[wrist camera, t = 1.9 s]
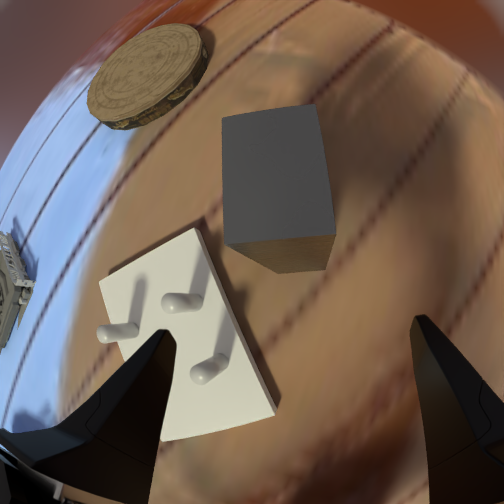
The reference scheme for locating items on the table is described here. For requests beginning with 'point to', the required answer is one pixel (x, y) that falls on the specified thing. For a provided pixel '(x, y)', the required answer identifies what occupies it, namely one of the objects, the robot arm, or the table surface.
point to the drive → (277, 189)
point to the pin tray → (187, 337)
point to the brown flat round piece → (148, 76)
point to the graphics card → (12, 287)
